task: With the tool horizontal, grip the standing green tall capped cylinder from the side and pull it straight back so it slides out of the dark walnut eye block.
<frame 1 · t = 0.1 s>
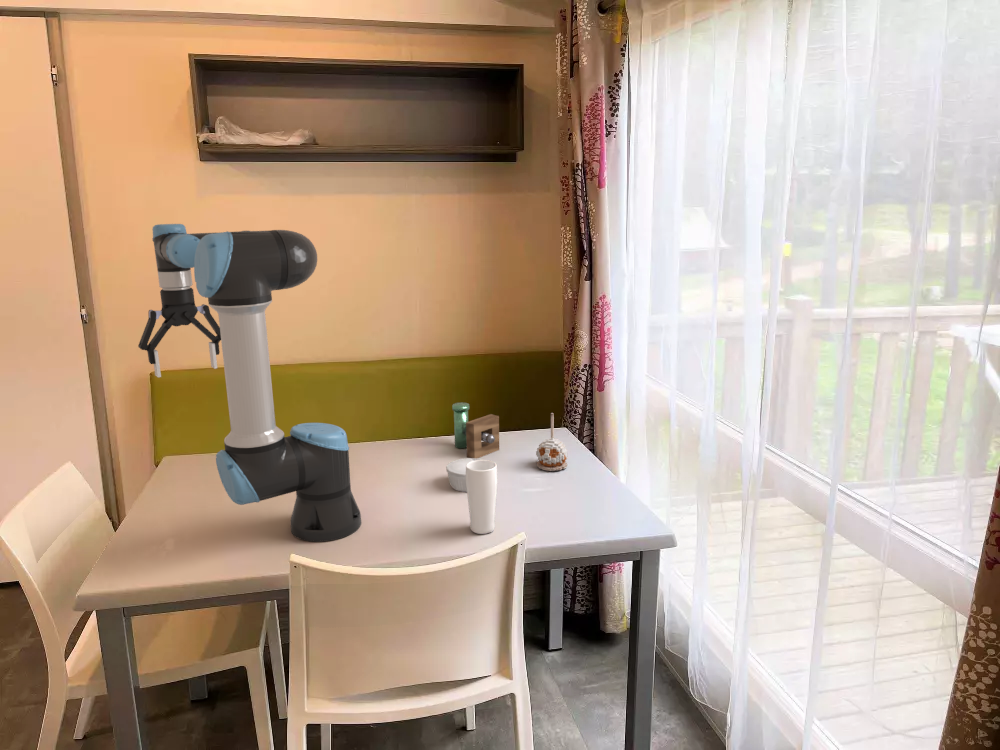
hand: (186, 371, 185), 28 cm above the table, tool pointing down, fingers open, 13 cm apart
green tall capped cylinder: (474, 429, 206), point 6 cm above the table, slide at 0.0 cm
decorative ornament: (552, 468, 195), on the table
ramekin: (469, 486, 184), on the table
drinking glass: (482, 530, 160), on the table
eye block: (483, 453, 206), on the table
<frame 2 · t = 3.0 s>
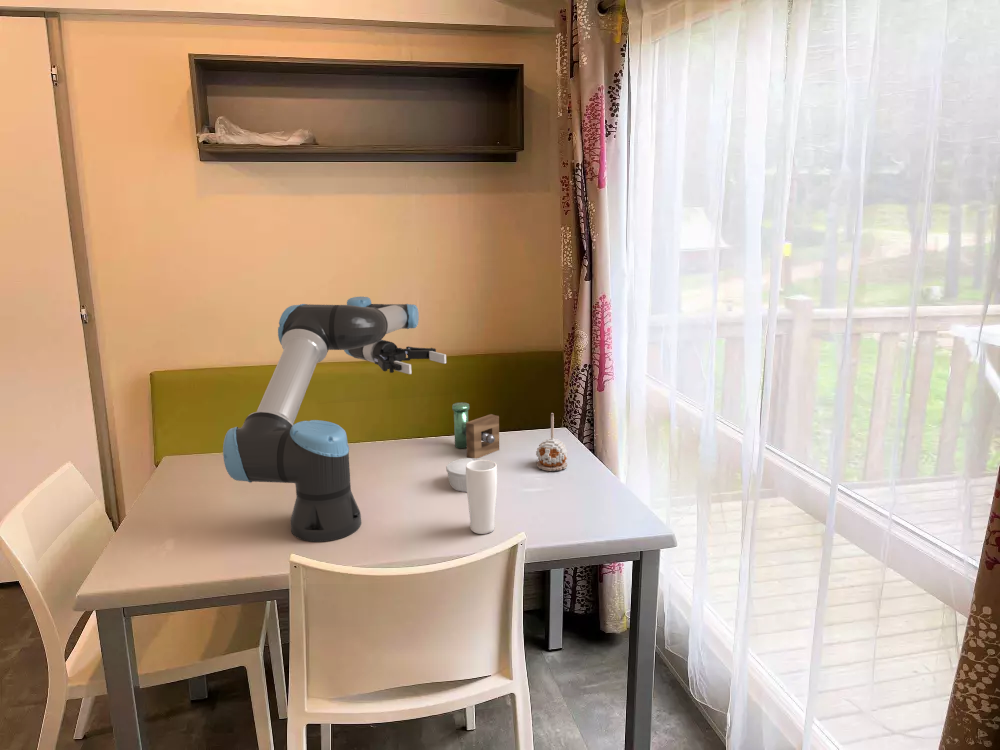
hand: (428, 364, 211), 23 cm above the table, tool horizontal, fingers open, 13 cm apart
nothing on the table moved.
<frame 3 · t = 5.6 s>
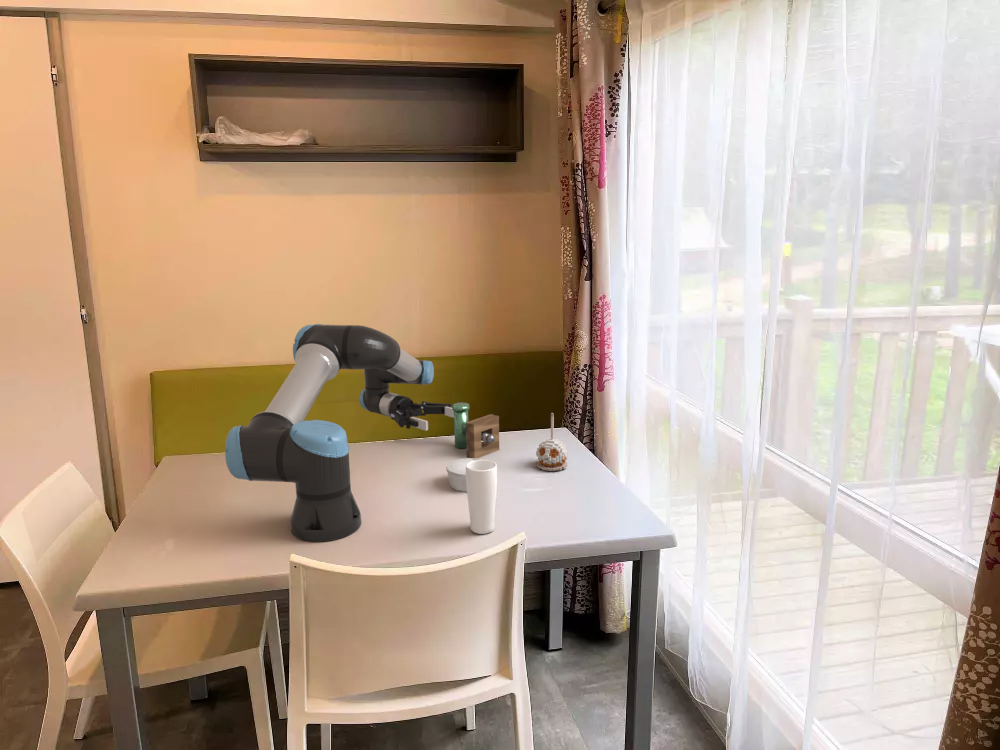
hand: (444, 420, 215), 6 cm above the table, tool horizontal, fingers open, 13 cm apart
nothing on the table moved.
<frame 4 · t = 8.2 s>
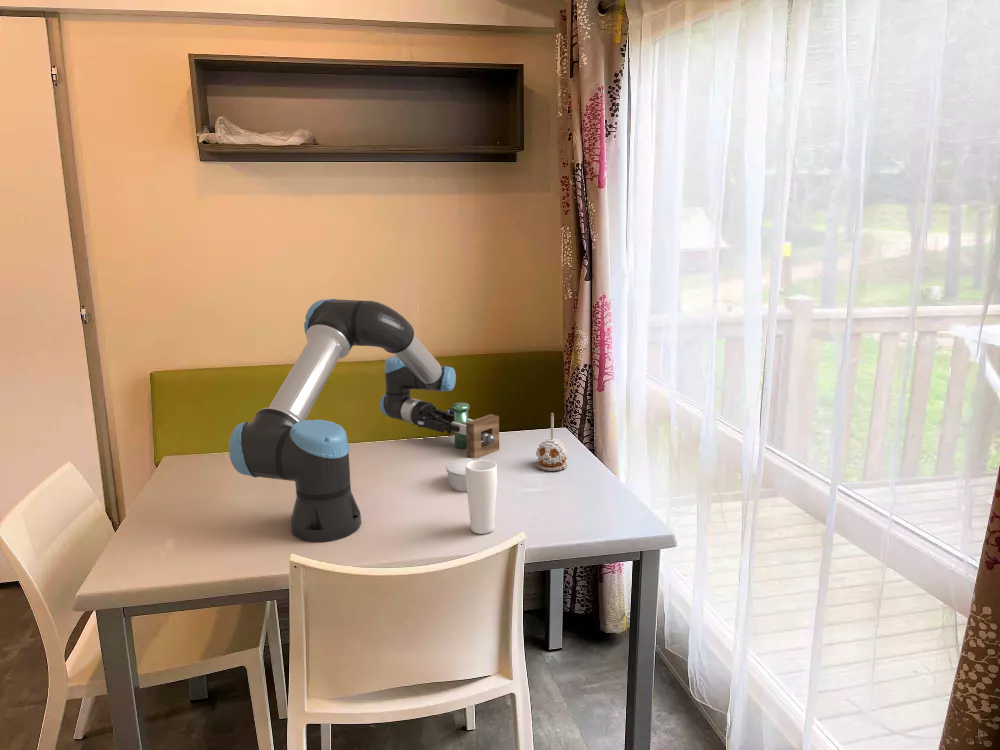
hand: (474, 428, 206), 6 cm above the table, tool horizontal, fingers closed on green tall capped cylinder, 4 cm apart
green tall capped cylinder: (474, 429, 206), point 6 cm above the table, slide at 0.0 cm, touching gripper
everything else where it was.
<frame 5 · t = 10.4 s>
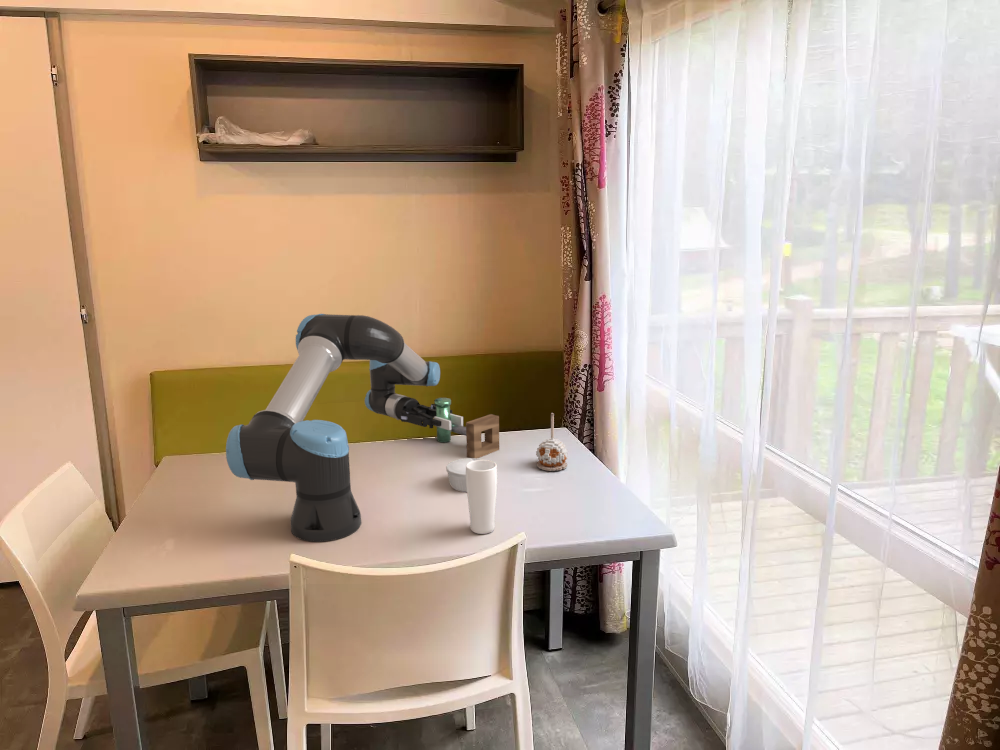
hand: (456, 423, 211), 7 cm above the table, tool horizontal, fingers closed on green tall capped cylinder, 4 cm apart
green tall capped cylinder: (455, 423, 211), point 6 cm above the table, slide at 7.5 cm, touching gripper
everything else where it was.
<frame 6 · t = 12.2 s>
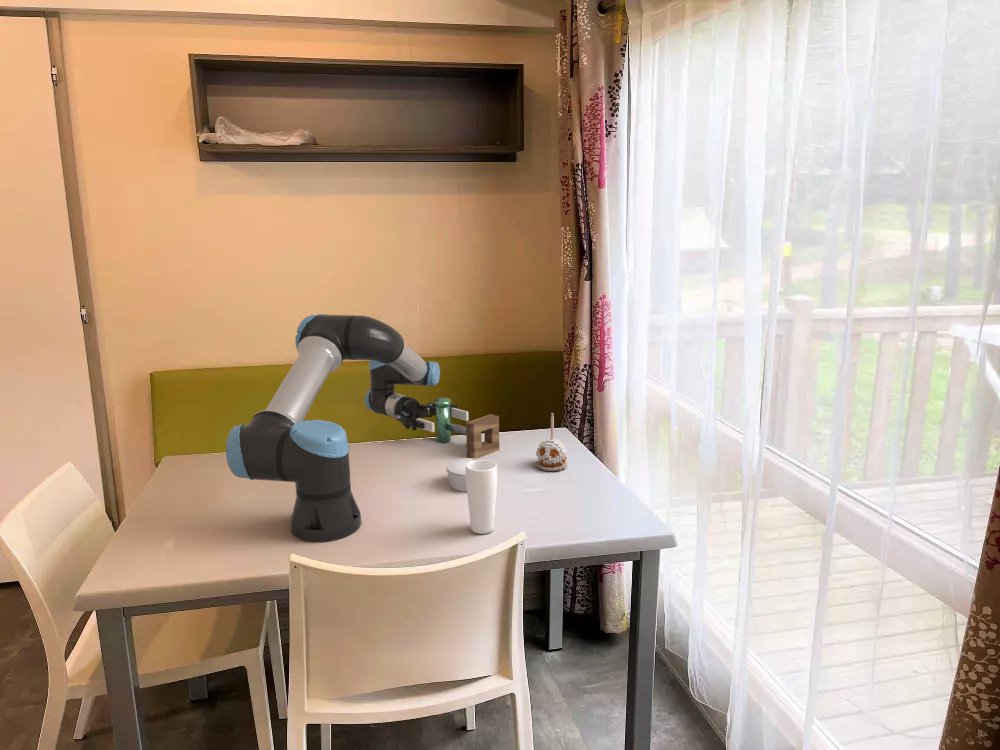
hand: (450, 421, 212), 7 cm above the table, tool horizontal, fingers open, 13 cm apart
green tall capped cylinder: (455, 423, 211), point 6 cm above the table, slide at 7.5 cm
everything else where it was.
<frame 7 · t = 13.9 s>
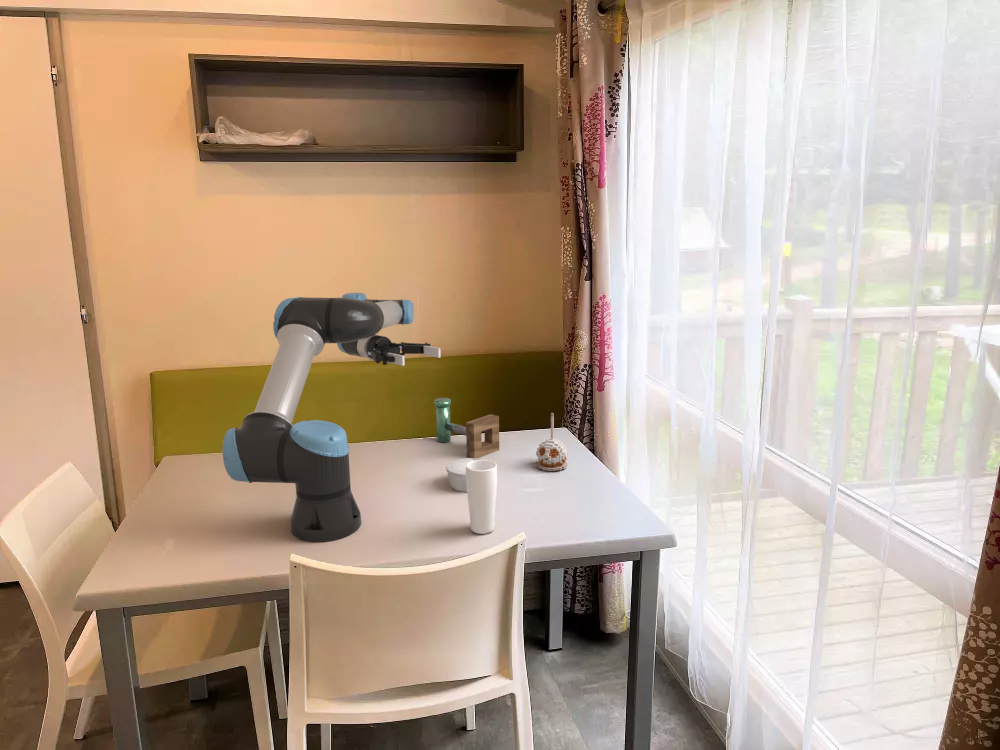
hand: (422, 356, 208), 26 cm above the table, tool horizontal, fingers open, 13 cm apart
nothing on the table moved.
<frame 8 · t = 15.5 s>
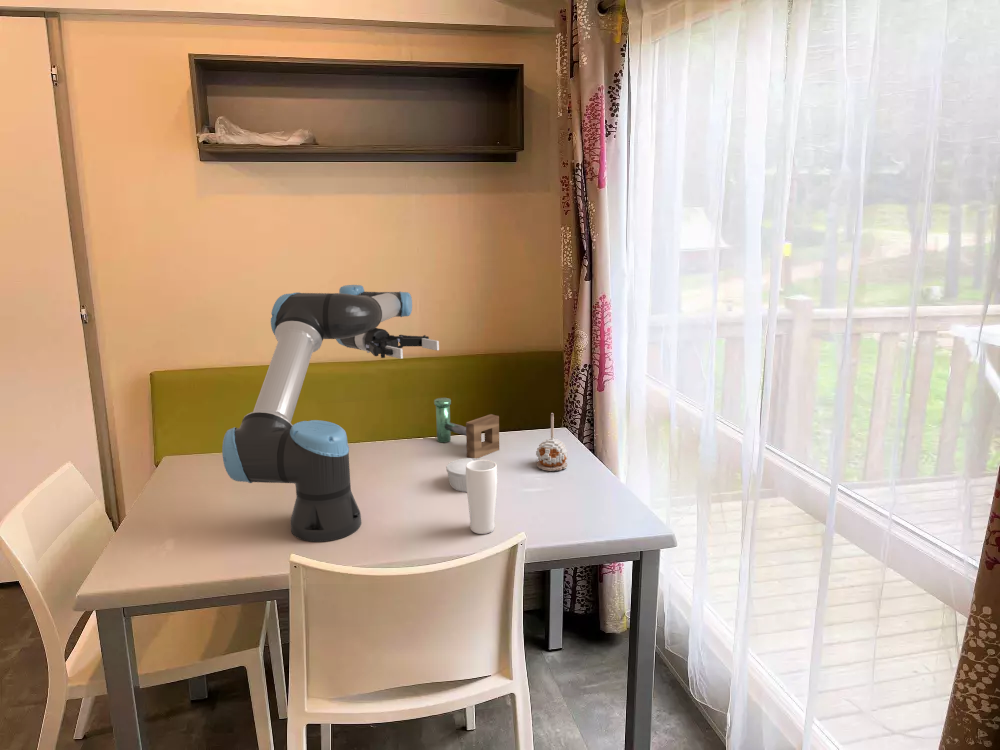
hand: (420, 349, 207), 28 cm above the table, tool horizontal, fingers open, 13 cm apart
nothing on the table moved.
at the end: green tall capped cylinder slide at 7.5 cm; the gripper is holding nothing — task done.
